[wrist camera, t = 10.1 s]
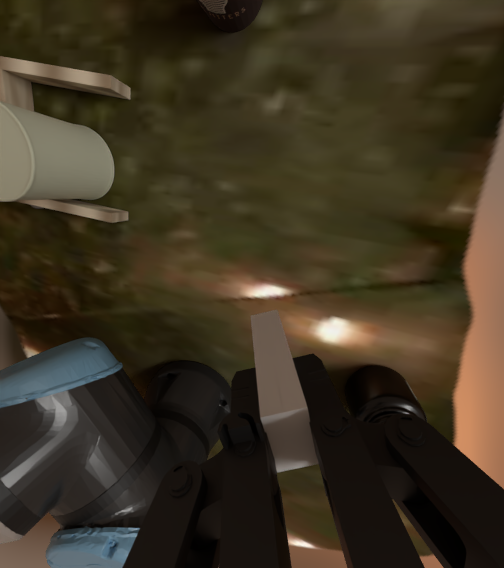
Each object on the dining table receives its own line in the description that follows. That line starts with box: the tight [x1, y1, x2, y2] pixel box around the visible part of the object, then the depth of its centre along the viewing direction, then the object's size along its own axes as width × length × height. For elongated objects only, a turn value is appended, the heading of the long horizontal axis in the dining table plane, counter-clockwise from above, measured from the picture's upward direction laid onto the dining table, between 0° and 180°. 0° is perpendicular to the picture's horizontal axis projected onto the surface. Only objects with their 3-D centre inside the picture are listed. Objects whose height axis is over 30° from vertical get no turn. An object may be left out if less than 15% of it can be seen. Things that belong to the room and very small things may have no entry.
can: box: [0, 101, 114, 202], centre depth 29 cm, size 9×9×12 cm
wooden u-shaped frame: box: [0, 56, 130, 223], centre depth 33 cm, size 15×16×4 cm
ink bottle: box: [345, 366, 427, 424], centre depth 34 cm, size 10×9×12 cm
